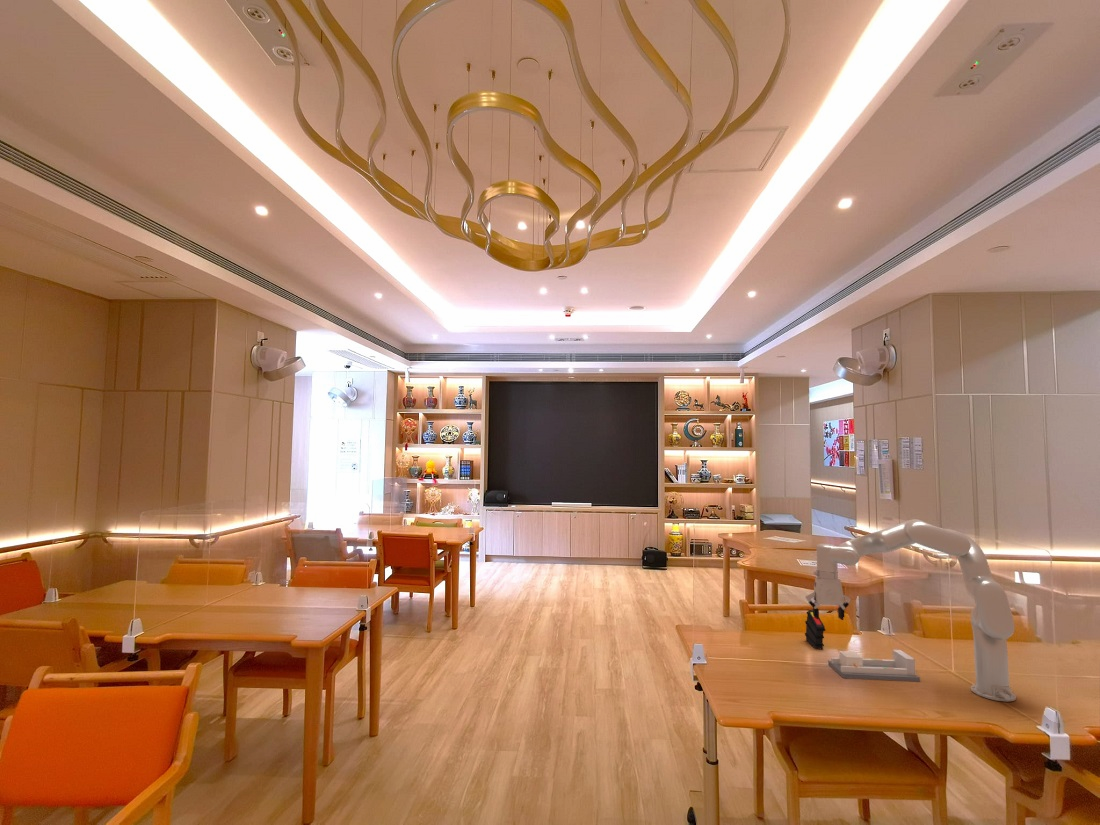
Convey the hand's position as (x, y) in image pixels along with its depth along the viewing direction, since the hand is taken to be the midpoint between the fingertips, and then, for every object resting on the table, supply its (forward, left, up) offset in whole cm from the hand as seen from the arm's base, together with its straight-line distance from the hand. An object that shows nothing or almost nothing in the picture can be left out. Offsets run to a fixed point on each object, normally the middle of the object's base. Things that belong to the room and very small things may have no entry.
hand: (828, 618), depth 219 cm
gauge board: (0, -16, -20) cm, 26 cm away
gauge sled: (0, -8, -19) cm, 20 cm away
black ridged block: (+29, -5, -21) cm, 36 cm away
